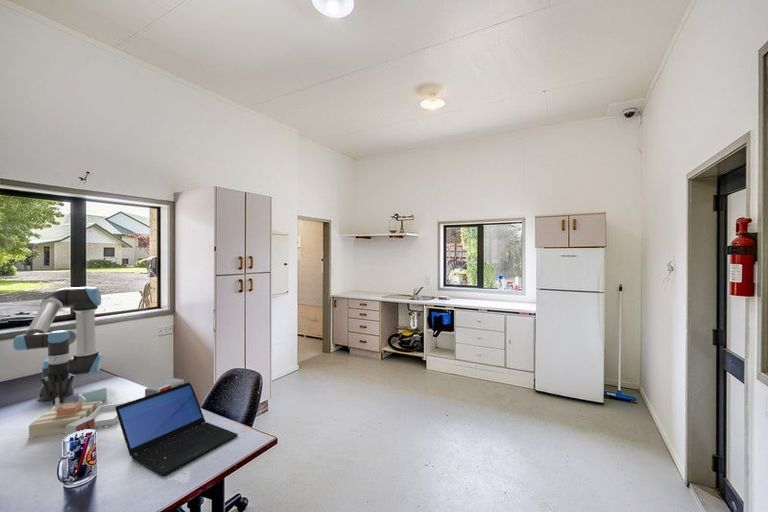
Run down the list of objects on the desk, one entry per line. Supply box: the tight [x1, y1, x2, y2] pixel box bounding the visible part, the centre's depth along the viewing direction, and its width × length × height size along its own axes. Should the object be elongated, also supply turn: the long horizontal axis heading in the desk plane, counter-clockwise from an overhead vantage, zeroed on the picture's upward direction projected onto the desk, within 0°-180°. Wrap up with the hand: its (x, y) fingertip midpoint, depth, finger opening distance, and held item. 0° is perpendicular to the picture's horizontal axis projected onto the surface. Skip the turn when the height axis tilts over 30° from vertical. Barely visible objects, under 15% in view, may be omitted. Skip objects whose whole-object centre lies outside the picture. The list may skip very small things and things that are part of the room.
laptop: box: [115, 382, 239, 477], centre depth 148 cm, size 33×38×19 cm
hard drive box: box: [144, 377, 185, 397], centre depth 166 cm, size 16×8×20 cm, turn 163°
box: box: [88, 401, 129, 429], centre depth 171 cm, size 20×13×4 cm, turn 20°
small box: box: [65, 417, 95, 437], centre depth 147 cm, size 8×6×10 cm
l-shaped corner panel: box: [78, 387, 108, 407], centre depth 186 cm, size 12×12×8 cm
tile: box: [57, 401, 82, 416], centre depth 166 cm, size 7×7×3 cm
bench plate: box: [28, 401, 98, 439], centre depth 165 cm, size 20×18×6 cm
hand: (58, 410), depth 164 cm, fingers closed
